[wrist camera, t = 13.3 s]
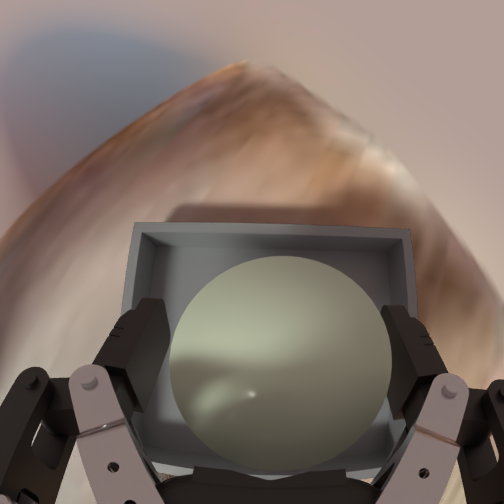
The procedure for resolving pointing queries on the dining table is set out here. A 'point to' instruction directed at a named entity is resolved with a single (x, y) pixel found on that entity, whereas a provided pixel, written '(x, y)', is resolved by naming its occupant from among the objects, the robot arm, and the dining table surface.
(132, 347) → the robot arm
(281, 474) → the tray
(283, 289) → the green capped canister
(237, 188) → the dining table surface
